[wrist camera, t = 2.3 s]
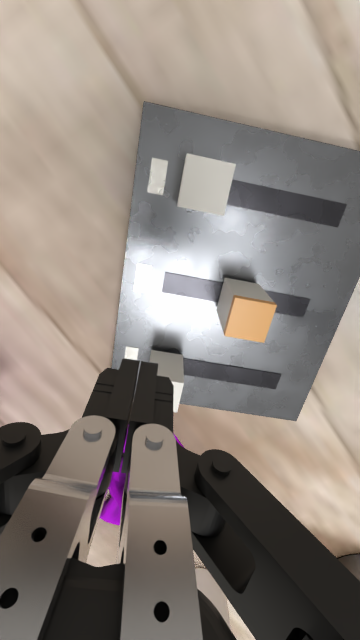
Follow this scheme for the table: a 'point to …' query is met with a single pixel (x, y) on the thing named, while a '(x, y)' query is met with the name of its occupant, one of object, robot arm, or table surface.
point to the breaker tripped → (245, 310)
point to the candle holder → (213, 593)
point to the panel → (239, 259)
